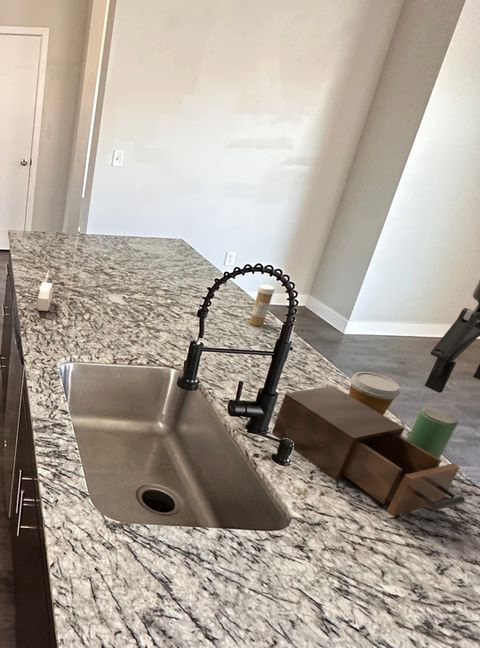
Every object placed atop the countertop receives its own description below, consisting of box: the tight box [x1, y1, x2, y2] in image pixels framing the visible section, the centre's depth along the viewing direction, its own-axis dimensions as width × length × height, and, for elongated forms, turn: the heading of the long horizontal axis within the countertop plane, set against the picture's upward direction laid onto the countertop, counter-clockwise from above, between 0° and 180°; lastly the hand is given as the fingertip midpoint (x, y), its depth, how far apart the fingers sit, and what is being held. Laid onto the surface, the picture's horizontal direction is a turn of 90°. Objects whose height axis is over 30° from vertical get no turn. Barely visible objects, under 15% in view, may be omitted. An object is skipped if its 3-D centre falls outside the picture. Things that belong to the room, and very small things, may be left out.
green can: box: [406, 406, 459, 460], centre depth 111 cm, size 6×6×14 cm
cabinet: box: [271, 385, 405, 482], centre depth 117 cm, size 17×14×11 cm
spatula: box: [36, 270, 53, 312], centre depth 195 cm, size 38×8×4 cm
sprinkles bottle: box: [248, 284, 275, 327], centre depth 178 cm, size 5×5×13 cm
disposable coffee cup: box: [348, 371, 401, 416], centre depth 127 cm, size 10×10×12 cm
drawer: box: [342, 433, 466, 517], centre depth 105 cm, size 20×13×9 cm, turn 17°
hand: (457, 384), depth 105 cm, fingers open, 13 cm apart
